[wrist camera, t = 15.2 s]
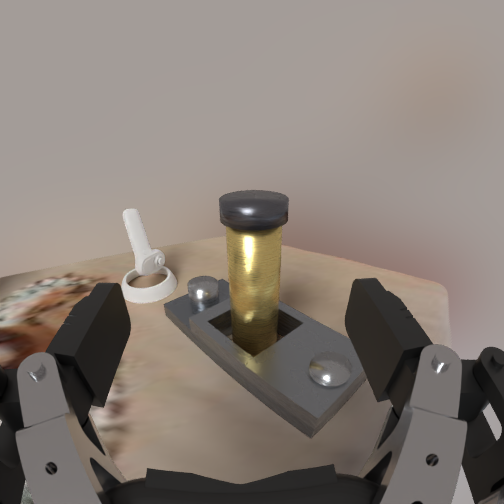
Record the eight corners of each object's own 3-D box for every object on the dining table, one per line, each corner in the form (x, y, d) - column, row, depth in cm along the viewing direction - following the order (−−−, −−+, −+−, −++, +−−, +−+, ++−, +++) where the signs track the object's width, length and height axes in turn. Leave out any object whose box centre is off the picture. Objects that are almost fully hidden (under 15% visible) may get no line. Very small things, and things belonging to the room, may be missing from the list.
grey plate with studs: (166, 315, 30) (160, 289, 29) (222, 289, 35) (221, 264, 33) (310, 438, 17) (318, 415, 15) (367, 376, 22) (378, 349, 20)
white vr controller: (133, 227, 41) (159, 204, 37) (162, 301, 40) (192, 286, 36) (92, 233, 34) (113, 208, 31) (122, 317, 34) (149, 303, 30)
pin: (218, 346, 26) (205, 198, 20) (255, 325, 29) (255, 187, 23) (253, 374, 23) (251, 212, 17) (291, 348, 26) (302, 198, 20)
